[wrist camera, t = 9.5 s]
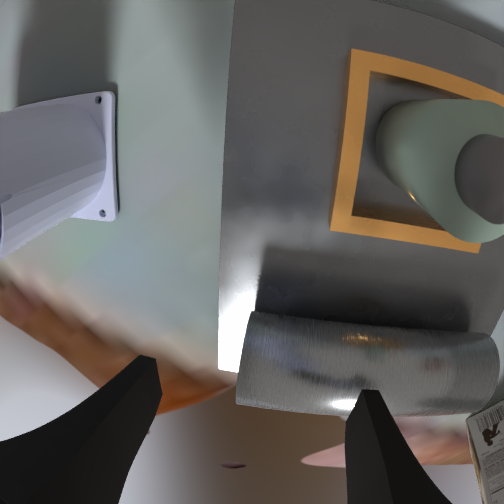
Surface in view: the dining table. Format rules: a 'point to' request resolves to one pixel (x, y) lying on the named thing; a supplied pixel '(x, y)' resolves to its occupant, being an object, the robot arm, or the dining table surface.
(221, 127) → the dining table surface
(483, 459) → the coffee box
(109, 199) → the robot arm
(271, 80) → the motor base
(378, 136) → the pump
